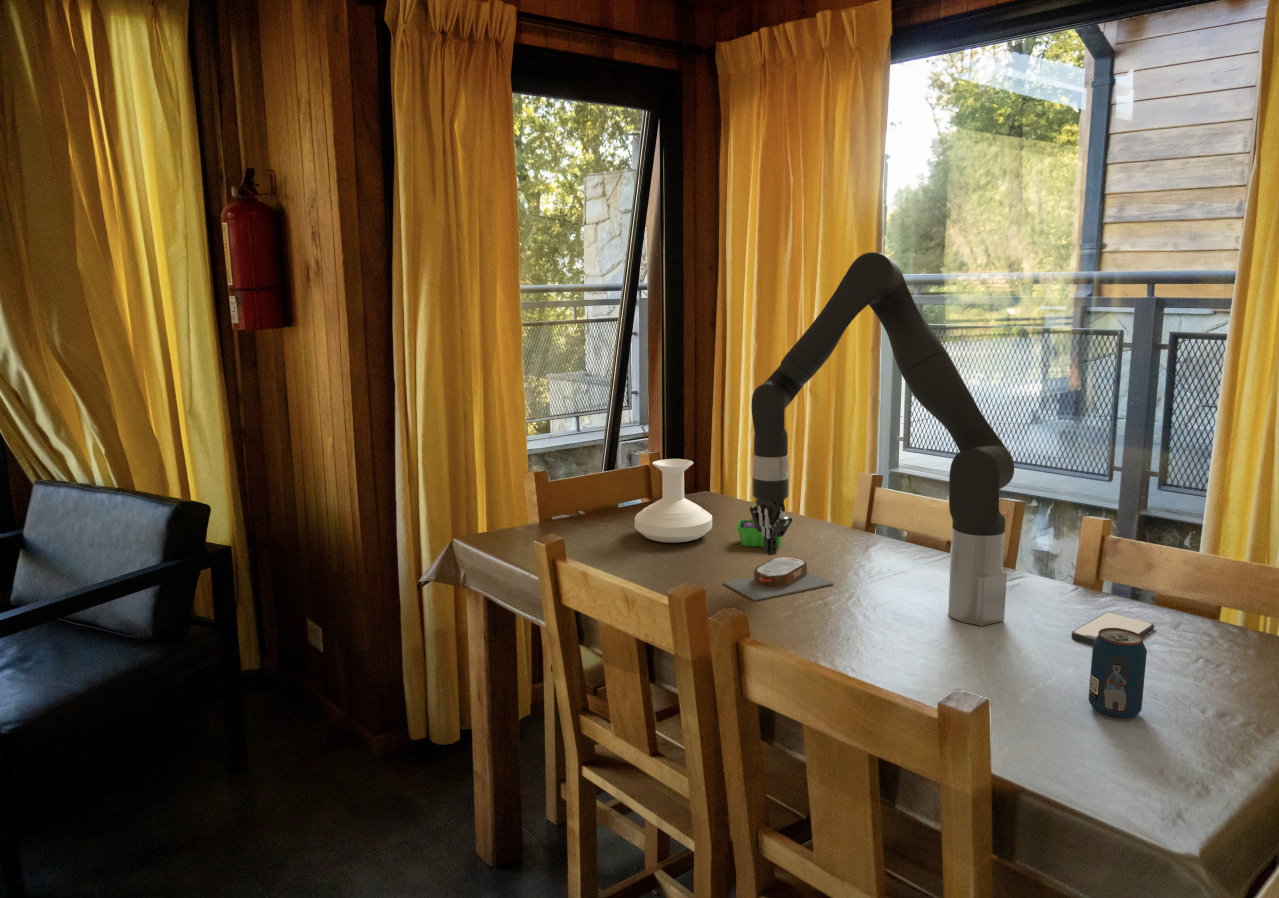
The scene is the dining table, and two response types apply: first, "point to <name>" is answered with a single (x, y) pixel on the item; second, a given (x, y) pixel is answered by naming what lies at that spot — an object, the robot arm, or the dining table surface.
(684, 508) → the white vase
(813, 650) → the dining table surface
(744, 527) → the fruit basket
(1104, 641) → the soda can
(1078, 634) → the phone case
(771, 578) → the tin
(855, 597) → the dining table surface
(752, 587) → the mat
